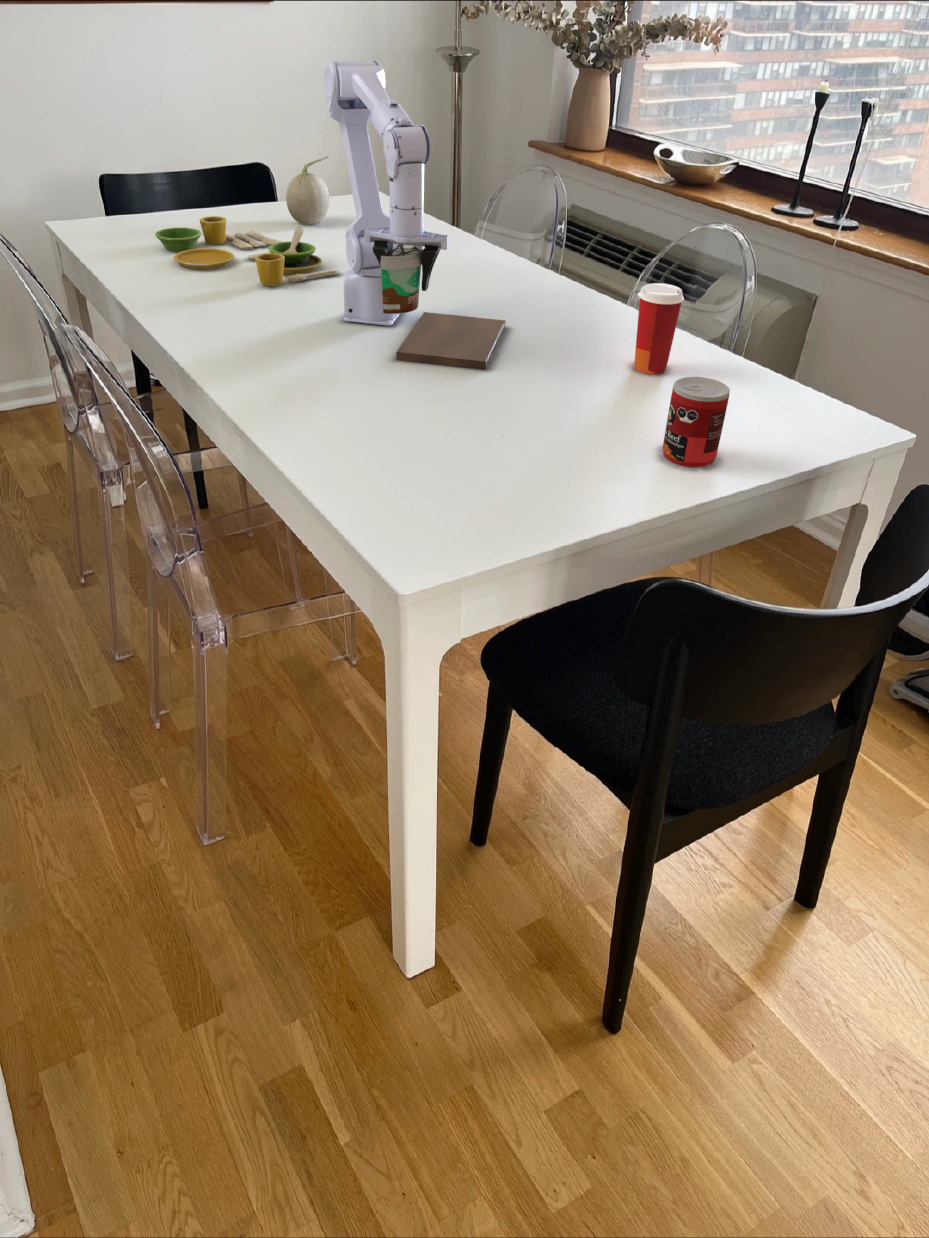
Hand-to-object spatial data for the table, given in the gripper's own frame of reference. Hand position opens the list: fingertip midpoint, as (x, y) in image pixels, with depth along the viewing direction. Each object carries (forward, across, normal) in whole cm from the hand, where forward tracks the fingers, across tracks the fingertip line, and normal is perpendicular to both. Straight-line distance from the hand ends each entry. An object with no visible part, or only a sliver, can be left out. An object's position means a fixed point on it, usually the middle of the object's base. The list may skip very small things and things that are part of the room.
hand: (406, 287), depth 173 cm
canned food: (+11, +51, -32) cm, 62 cm away
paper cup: (+11, +44, +2) cm, 45 cm away
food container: (+4, 0, 0) cm, 4 cm away
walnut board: (+10, +8, +4) cm, 14 cm away
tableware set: (+10, -47, +39) cm, 62 cm away
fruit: (+10, -44, +74) cm, 86 cm away
